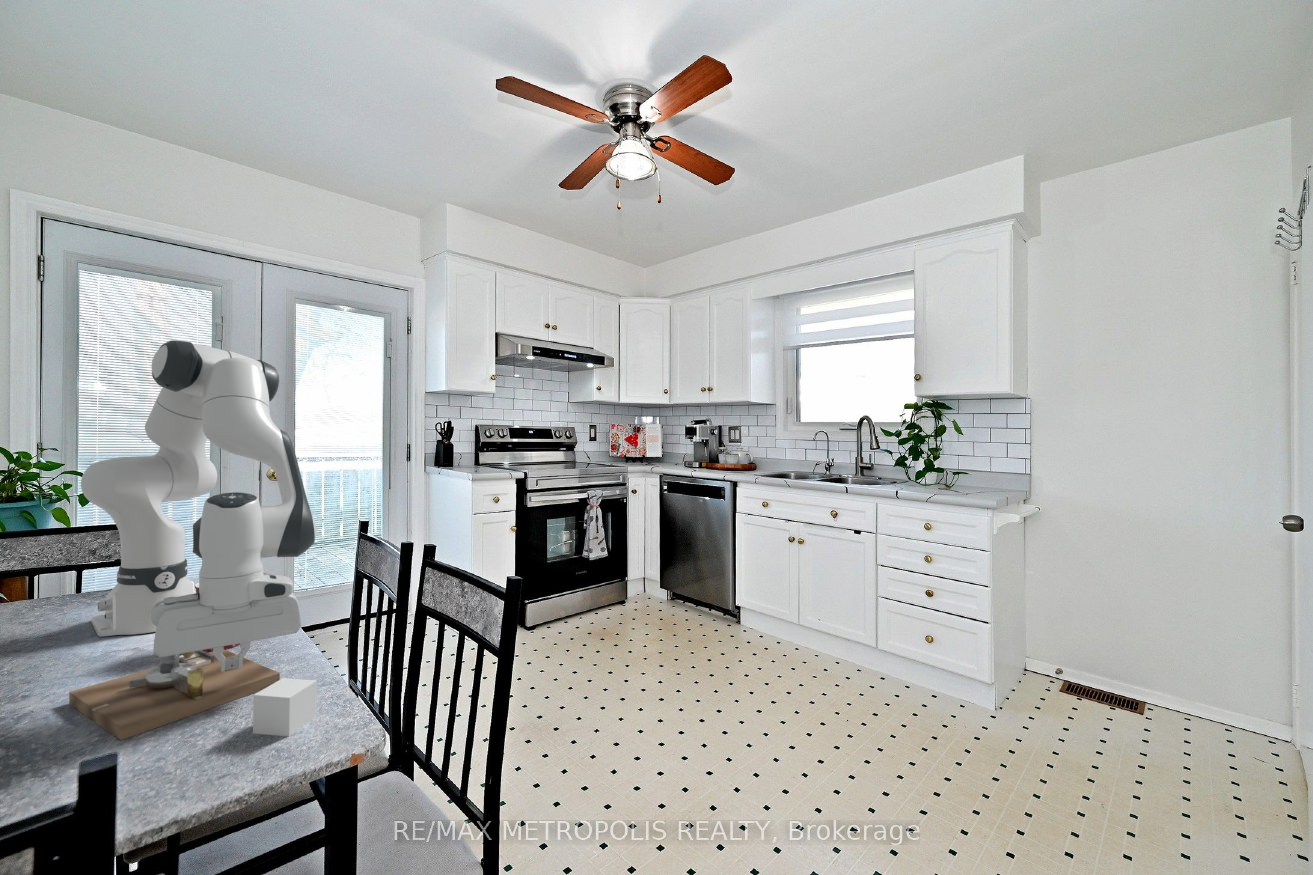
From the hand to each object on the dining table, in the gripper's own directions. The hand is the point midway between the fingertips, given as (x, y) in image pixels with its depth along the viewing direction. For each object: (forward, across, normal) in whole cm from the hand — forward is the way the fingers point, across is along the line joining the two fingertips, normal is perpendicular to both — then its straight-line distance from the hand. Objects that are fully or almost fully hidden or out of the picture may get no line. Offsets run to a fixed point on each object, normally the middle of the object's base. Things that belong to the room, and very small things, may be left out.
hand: (231, 669), depth 98 cm
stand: (+5, -7, +7) cm, 11 cm away
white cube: (+5, +6, -16) cm, 18 cm away
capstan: (+2, -7, +4) cm, 9 cm away
